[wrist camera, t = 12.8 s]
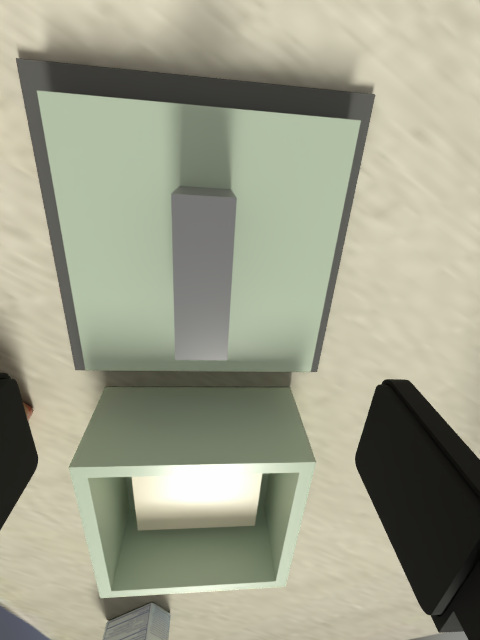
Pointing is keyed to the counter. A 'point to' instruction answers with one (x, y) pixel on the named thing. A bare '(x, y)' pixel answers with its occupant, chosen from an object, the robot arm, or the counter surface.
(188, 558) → the storage box
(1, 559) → the counter surface
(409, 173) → the counter surface
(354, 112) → the rubber mat
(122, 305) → the lid
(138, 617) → the medicine box
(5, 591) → the counter surface
